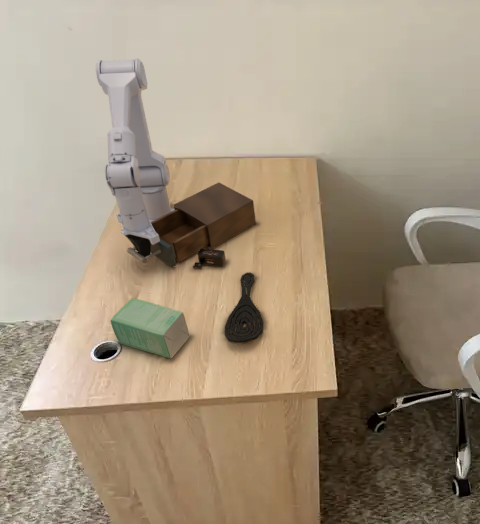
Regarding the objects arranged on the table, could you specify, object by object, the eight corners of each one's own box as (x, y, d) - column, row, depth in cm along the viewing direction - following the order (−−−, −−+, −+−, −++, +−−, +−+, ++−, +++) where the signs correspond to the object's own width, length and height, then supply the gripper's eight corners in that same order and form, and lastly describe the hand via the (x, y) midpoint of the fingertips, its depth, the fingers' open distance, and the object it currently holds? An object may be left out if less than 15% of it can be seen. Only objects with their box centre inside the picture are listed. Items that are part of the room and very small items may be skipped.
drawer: (153, 278, 138) (147, 258, 134) (122, 256, 145) (116, 237, 141) (218, 241, 150) (214, 222, 146) (187, 222, 156) (183, 203, 153)
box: (138, 320, 128) (130, 295, 123) (190, 336, 124) (184, 311, 120) (117, 343, 123) (107, 318, 118) (171, 360, 119) (164, 335, 114)
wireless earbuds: (199, 258, 146) (197, 247, 144) (226, 260, 145) (225, 250, 143) (192, 269, 142) (190, 259, 140) (220, 272, 141) (218, 262, 139)
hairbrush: (264, 264, 139) (260, 335, 119) (266, 277, 141) (262, 348, 121) (230, 266, 138) (220, 338, 118) (232, 278, 141) (222, 351, 120)
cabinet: (212, 249, 148) (207, 225, 144) (178, 228, 156) (173, 204, 151) (256, 224, 157) (253, 200, 153) (222, 205, 165) (218, 182, 160)
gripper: (99, 204, 134) (114, 251, 143) (135, 228, 127) (148, 275, 135) (126, 192, 139) (139, 238, 147) (162, 214, 131) (173, 261, 140)
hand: (145, 255), depth 142 cm, fingers closed, pressing on drawer
